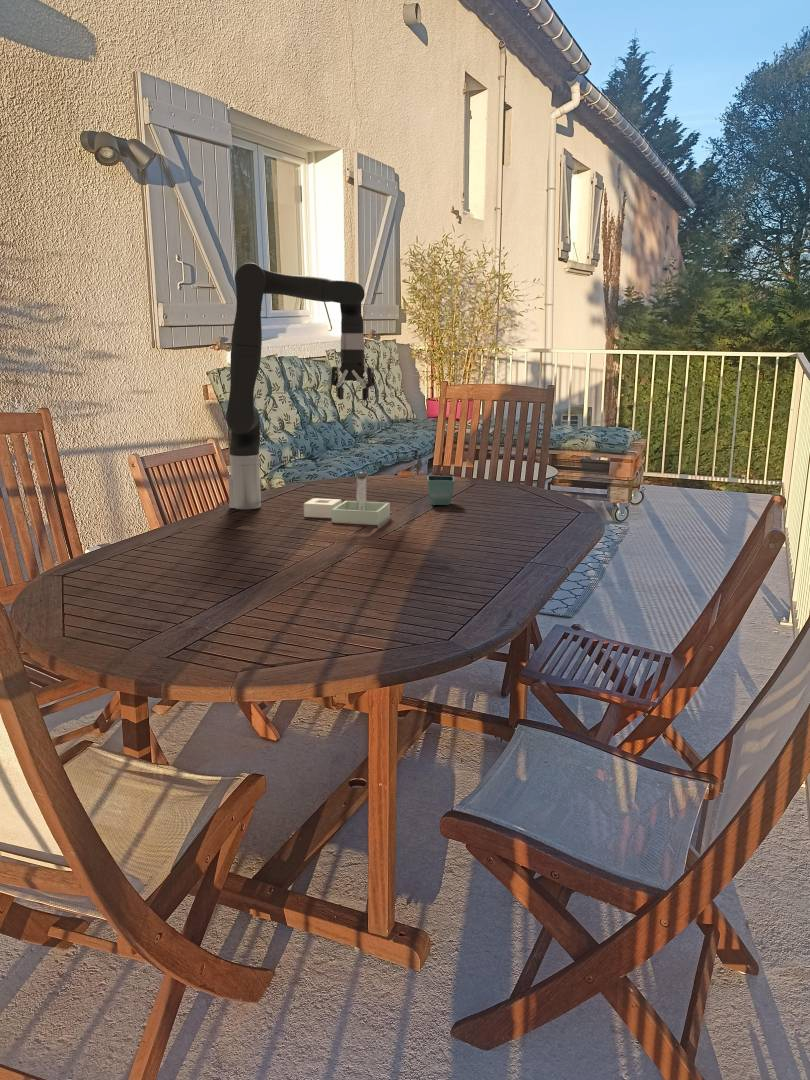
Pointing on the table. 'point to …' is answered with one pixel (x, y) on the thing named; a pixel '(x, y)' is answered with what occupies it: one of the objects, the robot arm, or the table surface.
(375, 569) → the table surface
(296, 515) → the table surface
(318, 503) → the socket block
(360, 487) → the steel pin
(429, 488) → the flower pot
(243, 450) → the robot arm
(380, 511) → the tray
